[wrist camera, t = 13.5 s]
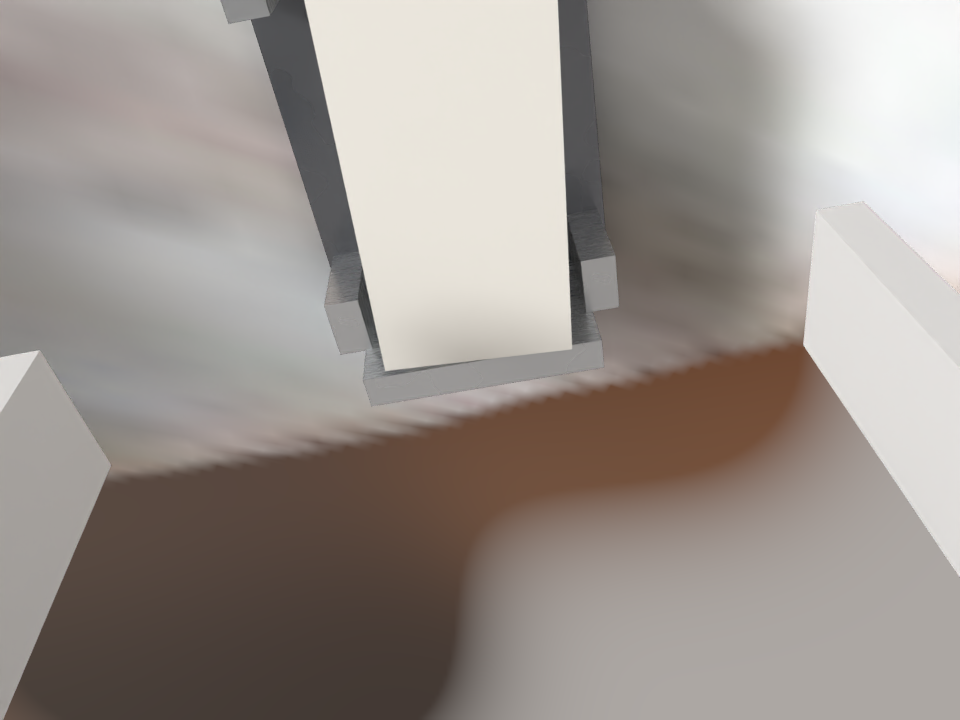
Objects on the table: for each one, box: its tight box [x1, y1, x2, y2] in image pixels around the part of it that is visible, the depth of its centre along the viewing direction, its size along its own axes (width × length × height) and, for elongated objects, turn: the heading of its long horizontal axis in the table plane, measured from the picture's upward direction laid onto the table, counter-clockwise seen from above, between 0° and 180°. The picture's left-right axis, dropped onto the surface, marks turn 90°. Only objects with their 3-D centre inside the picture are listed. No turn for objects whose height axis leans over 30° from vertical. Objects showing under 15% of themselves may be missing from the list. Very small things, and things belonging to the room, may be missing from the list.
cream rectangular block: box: [304, 0, 572, 371], centre depth 21 cm, size 10×5×6 cm, turn 6°
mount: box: [221, 0, 619, 406], centre depth 22 cm, size 14×9×6 cm, turn 10°
